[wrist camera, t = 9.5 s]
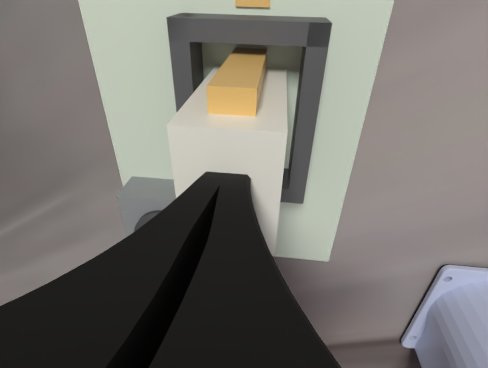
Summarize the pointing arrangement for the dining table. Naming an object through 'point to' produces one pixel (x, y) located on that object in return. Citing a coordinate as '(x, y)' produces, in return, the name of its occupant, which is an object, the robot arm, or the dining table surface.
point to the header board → (215, 53)
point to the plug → (236, 131)
